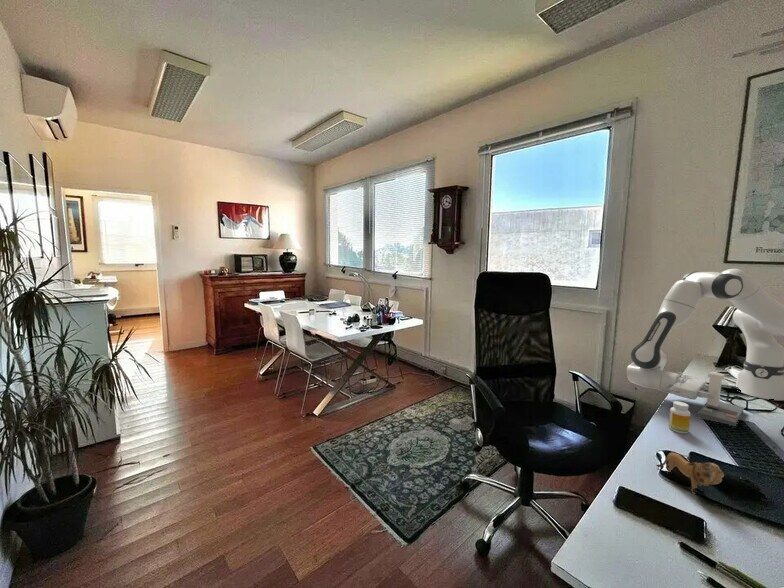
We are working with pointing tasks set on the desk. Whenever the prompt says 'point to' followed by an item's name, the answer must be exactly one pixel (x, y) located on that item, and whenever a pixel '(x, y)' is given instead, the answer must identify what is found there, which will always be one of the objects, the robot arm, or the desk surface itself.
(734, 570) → the desk surface
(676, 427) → the supplement bottle
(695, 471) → the lion figurine
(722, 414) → the breaker panel
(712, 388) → the lever
